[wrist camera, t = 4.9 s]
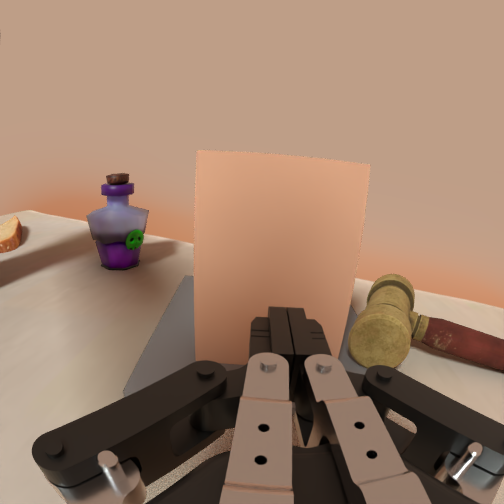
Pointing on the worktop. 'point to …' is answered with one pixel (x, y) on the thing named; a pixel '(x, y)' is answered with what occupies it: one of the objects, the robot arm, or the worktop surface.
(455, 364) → the worktop surface
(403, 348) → the gavel
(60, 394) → the worktop surface
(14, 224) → the slice of bread
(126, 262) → the potion bottle
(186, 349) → the mat
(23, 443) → the worktop surface
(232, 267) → the tile
